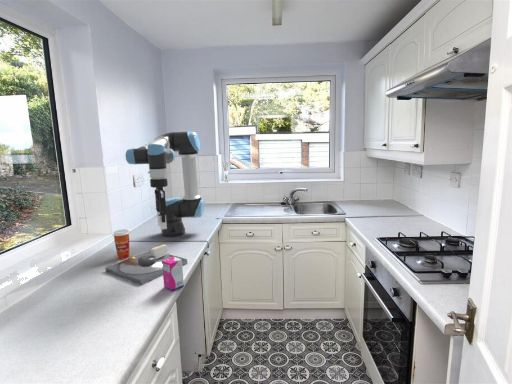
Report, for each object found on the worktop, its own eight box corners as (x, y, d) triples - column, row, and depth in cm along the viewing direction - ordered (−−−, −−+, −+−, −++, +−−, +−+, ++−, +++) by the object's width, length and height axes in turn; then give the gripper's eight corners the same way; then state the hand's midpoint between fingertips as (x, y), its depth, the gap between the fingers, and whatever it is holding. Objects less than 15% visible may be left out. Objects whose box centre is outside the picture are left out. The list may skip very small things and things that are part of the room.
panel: (152, 253, 157) (152, 248, 157) (187, 263, 143) (187, 258, 143) (105, 271, 136) (105, 266, 136) (141, 284, 122) (140, 279, 121)
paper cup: (114, 260, 149) (111, 234, 146) (117, 255, 156) (114, 229, 154) (130, 258, 151) (128, 232, 148) (132, 253, 158) (130, 228, 156)
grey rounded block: (145, 266, 134) (144, 255, 133) (134, 263, 138) (133, 252, 137) (171, 256, 146) (170, 245, 145) (160, 253, 150) (159, 242, 150)
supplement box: (175, 281, 124) (173, 255, 122) (184, 285, 120) (182, 259, 118) (163, 287, 119) (161, 260, 118) (172, 291, 116) (170, 263, 114)
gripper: (147, 176, 141) (151, 223, 145) (153, 180, 124) (157, 233, 128) (163, 175, 145) (166, 221, 148) (171, 179, 128) (174, 231, 131)
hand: (162, 227), depth 138 cm, fingers open, 6 cm apart
